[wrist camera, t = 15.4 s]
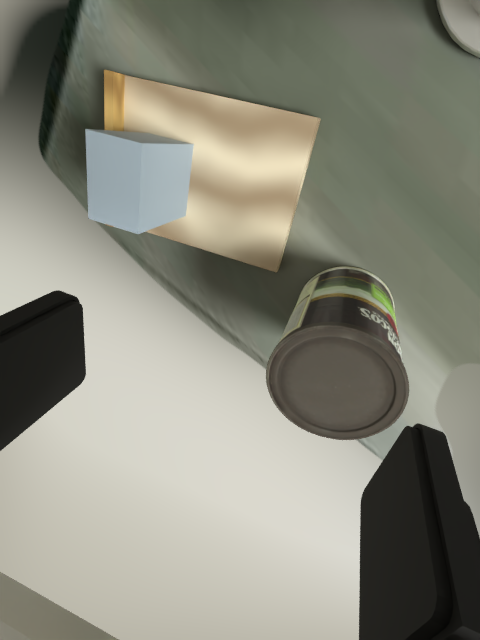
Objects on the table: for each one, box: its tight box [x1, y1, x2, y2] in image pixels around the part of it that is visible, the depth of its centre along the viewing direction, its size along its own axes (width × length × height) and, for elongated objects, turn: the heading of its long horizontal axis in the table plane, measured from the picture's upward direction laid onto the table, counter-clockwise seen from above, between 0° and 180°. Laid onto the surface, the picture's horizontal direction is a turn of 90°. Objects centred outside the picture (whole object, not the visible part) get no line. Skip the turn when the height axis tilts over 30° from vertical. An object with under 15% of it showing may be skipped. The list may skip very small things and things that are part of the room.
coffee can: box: [266, 266, 409, 440], centre depth 31 cm, size 10×10×14 cm
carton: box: [85, 129, 194, 234], centre depth 31 cm, size 5×7×9 cm
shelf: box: [104, 70, 321, 272], centre depth 34 cm, size 14×20×3 cm
